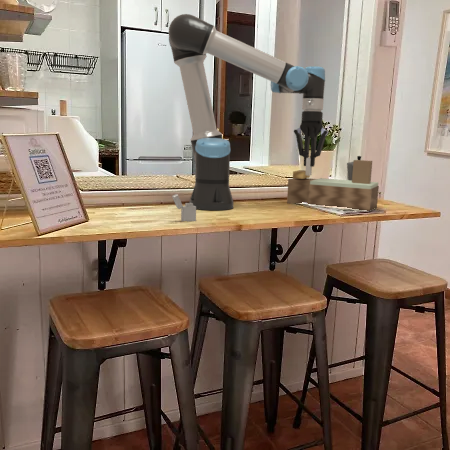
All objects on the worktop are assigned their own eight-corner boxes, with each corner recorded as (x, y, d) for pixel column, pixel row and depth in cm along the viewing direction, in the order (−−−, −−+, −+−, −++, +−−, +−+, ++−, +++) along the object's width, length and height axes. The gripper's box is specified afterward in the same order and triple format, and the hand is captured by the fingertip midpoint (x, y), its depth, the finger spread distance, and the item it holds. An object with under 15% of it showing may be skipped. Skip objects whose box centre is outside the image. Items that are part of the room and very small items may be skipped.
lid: (309, 188, 184) (311, 158, 182) (320, 185, 196) (322, 157, 194) (370, 193, 174) (372, 162, 172) (377, 190, 186) (380, 160, 184)
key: (292, 178, 189) (293, 171, 189) (299, 176, 196) (300, 170, 196) (302, 178, 187) (303, 172, 187) (309, 177, 194) (310, 170, 194)
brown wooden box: (284, 203, 189) (285, 179, 187) (297, 199, 201) (298, 177, 200) (369, 212, 175) (371, 186, 174) (376, 207, 188) (379, 183, 186)
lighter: (193, 219, 151) (194, 193, 150) (196, 220, 150) (196, 193, 148) (171, 221, 148) (171, 193, 146) (173, 222, 146) (173, 194, 145)
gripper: (292, 110, 186) (288, 174, 190) (326, 110, 180) (322, 177, 184) (298, 111, 192) (295, 173, 197) (332, 111, 186) (328, 175, 191)
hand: (308, 175), depth 190 cm, fingers closed
